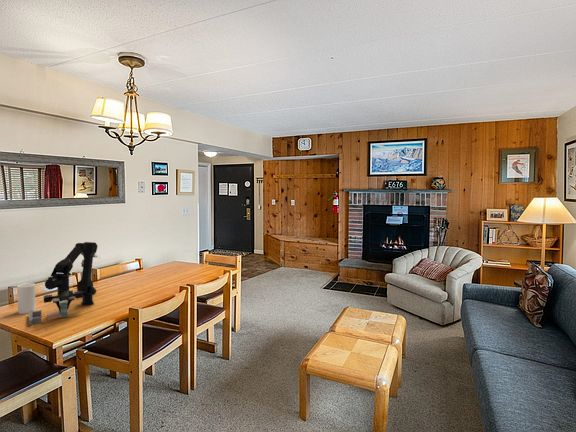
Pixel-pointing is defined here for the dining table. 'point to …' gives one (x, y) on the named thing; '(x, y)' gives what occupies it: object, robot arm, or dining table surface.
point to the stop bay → (36, 319)
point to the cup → (26, 298)
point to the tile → (53, 315)
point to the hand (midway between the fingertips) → (63, 311)
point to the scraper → (63, 309)
